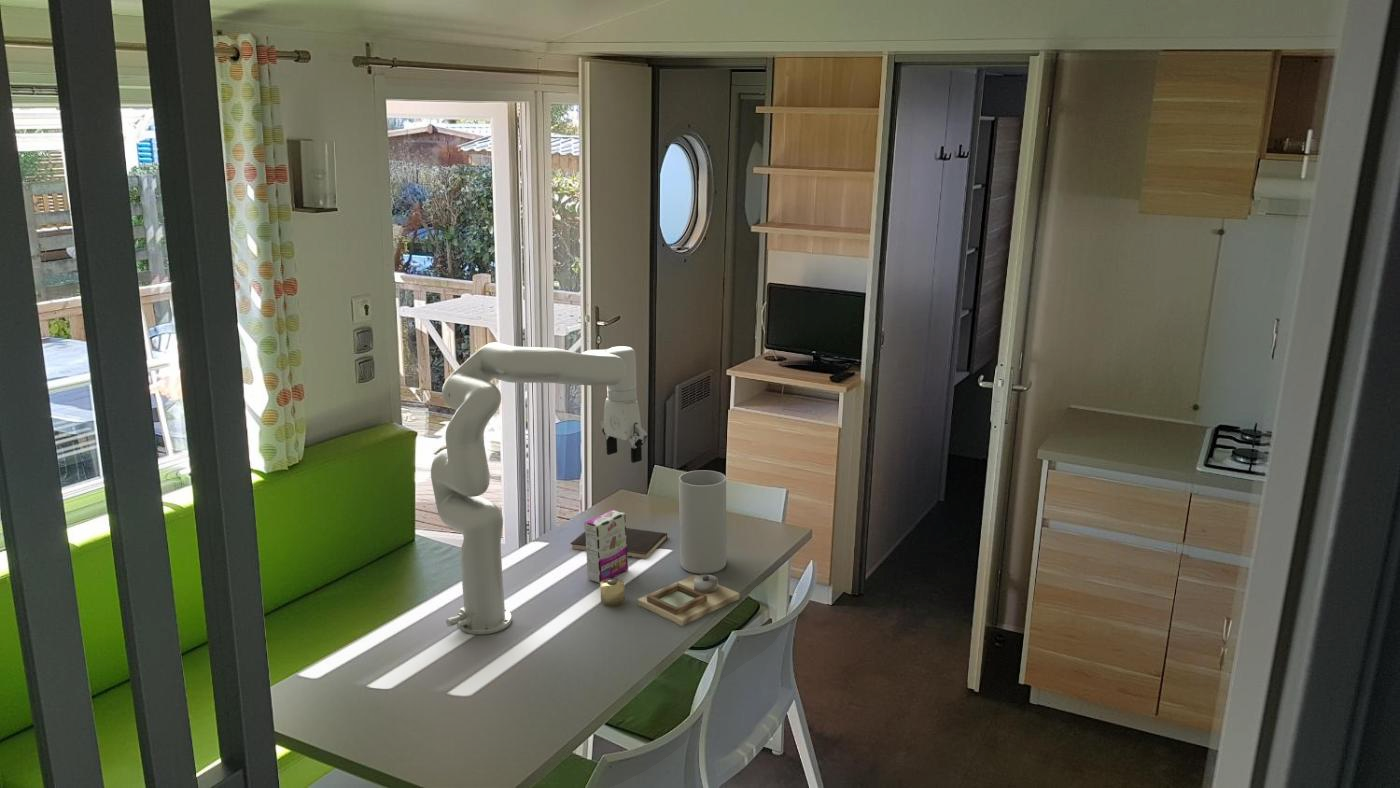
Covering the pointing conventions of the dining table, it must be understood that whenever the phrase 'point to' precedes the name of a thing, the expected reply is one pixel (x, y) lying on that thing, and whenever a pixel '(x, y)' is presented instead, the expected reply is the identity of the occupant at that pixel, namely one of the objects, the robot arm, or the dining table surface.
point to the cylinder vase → (702, 521)
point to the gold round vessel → (612, 592)
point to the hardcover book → (632, 542)
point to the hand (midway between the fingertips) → (624, 457)
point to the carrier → (689, 599)
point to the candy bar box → (606, 546)
